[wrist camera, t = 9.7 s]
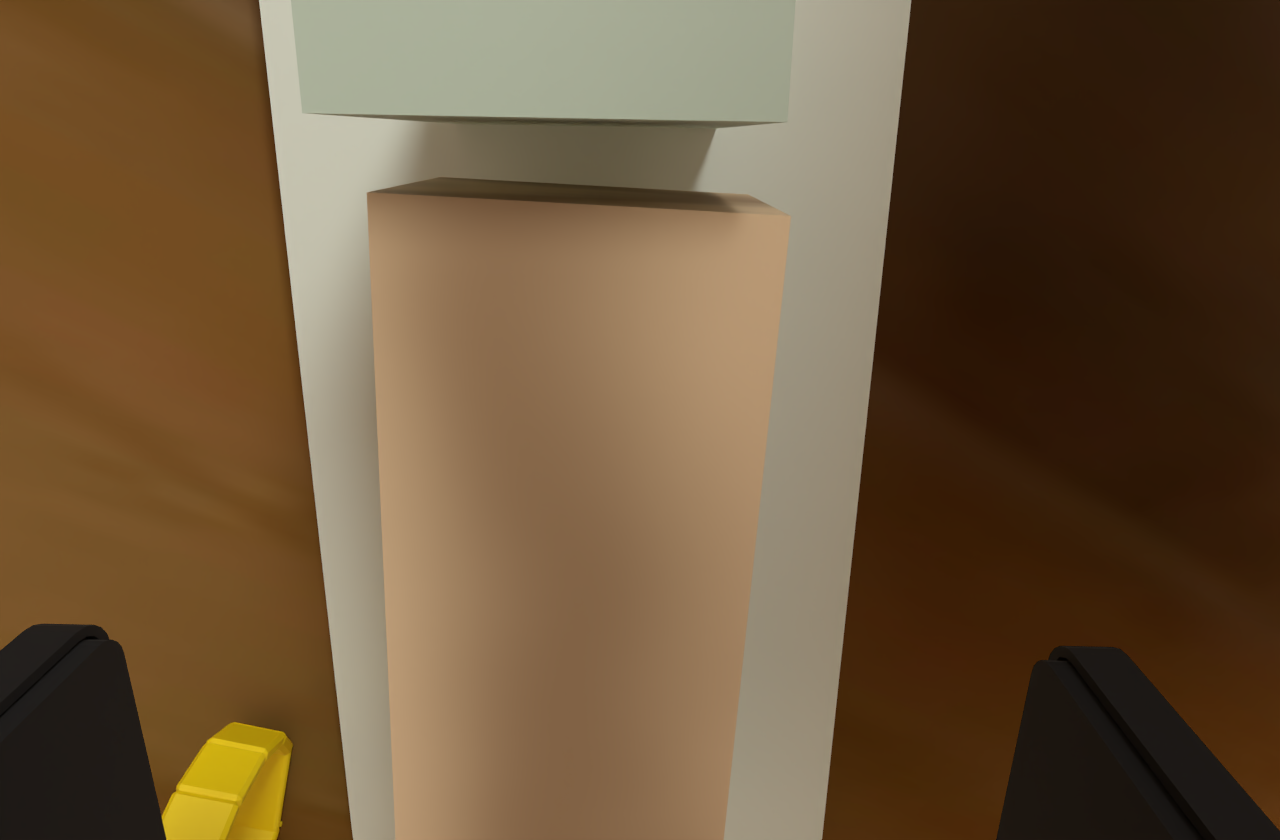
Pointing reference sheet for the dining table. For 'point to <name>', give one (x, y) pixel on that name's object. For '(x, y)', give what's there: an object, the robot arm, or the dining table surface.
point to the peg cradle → (617, 157)
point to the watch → (232, 787)
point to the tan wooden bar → (569, 499)
